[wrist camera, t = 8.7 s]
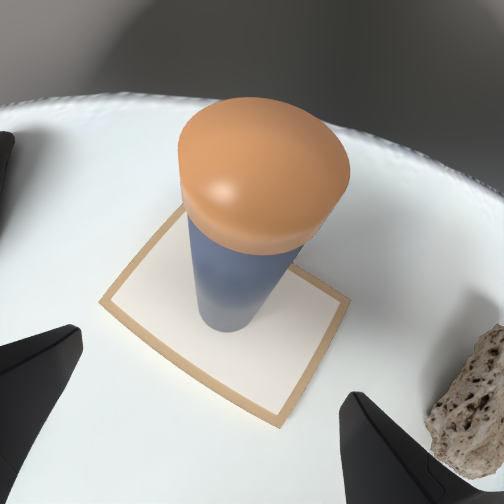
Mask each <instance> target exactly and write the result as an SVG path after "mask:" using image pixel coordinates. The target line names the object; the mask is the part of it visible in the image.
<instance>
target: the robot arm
mask: <svg viewBox="0 0 504 504" xmlns="http://www.w3.org/2000/svg"><path fill="white" fill-rule="evenodd" d="M82 352H83V342H82V333H81V329H80V328H79V327H76V326H74V325H72V324H68V325H65V326H62V327H59V328H56V329H53V330H50V331H47V332H43V333H40V334H37V335H34V336H31V337H28V338H25V339H22V340H18V341H15V342H12V343H9V344H6V345H3V346H0V504H5V503H6V500H7V498H8V496H9V493H10V491H11V489H12V487H13V484H14V482H15V480H16V478H17V476H18V473H19V471H20V469H21V467H22V465H23V463H24V461H25V459H26V457H27V455H28V453H29V451H30V449H31V447H32V445H33V443H34V441H35V439H36V438H37V436H38V434H39V432H40V430H41V428H42V427H43V425H44V423H45V421H46V420H47V418H48V416H49V414H50V413H51V411H52V409H53V407H54V406H55V404H56V402H57V401H58V399H59V397H60V396H61V394H62V392H63V391H64V389H65V387H66V385H67V383H68V381H69V379H70V377H71V375H72V373H73V371H74V369H75V367H76V365H77V363H78V361H79V359H80V357H81V355H82ZM339 426H340V453H341V461H342V469H343V477H344V486H345V495H346V504H504V491H500V492H486V491H481V490H479V489H476V488H475V487H473V486H472V485H470V484H469V483H467V482H466V481H464V480H463V479H461V478H460V477H459V476H457V475H456V474H454V473H453V472H452V471H450V470H449V469H448V468H446V467H445V466H444V465H442V464H441V463H440V462H439V461H438V460H436V459H435V458H434V457H433V456H432V455H431V454H430V453H427V451H426V450H425V449H424V448H423V447H422V446H421V445H419V444H418V443H417V442H416V441H415V440H414V439H413V438H412V437H411V436H410V435H408V434H407V433H406V432H405V431H404V430H403V429H402V428H401V427H400V426H399V425H397V424H396V423H395V422H394V421H393V420H392V419H391V418H390V417H389V416H388V415H387V414H385V413H384V412H383V411H382V410H381V409H380V408H379V407H378V406H377V405H376V404H375V403H374V402H373V401H372V400H370V399H369V398H368V397H367V396H366V395H365V394H364V393H363V392H355V391H353V392H350V393H349V395H348V396H347V398H346V399H345V401H344V403H343V404H342V406H341V407H340V410H339Z"/></svg>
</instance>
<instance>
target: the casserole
mask: <svg viewBox="0 0 504 504" xmlns="http://www.w3.org/2000/svg"><path fill="white" fill-rule="evenodd" d="M14 143H15V138H14V135H13V134H12V133H10V132H6V131H0V194H1V191H2V185H3V179H4V173H5V168H6V164H7V161H8V158H9V155H10V153H11V150H12V148H13V145H14Z"/></svg>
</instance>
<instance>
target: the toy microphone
mask: <svg viewBox="0 0 504 504" xmlns="http://www.w3.org/2000/svg"><path fill="white" fill-rule="evenodd" d="M178 160H179V172H180V184H181V194H182V200H183V204H184V207H185V210H186V212H187V217H188V227H189V237H190V246H191V255H192V264H193V272H194V280H195V288H196V295H197V303H198V309H199V313H200V316H201V317H202V319H203V321H204V322H205V323H206V324H207V325H208V326H209V327H211V328H212V329H214V330H217V331H220V332H225V333H230V332H235V331H238V330H241V329H242V328H244V327H245V326H247V325H248V324H249V322H250V321H251V320H252V318H253V317H254V316H255V314H256V313H257V312H258V310H259V309H260V307H261V306H262V305H263V303H264V302H265V300H266V299H267V298H268V296H269V295H270V293H271V292H272V290H273V289H274V288H275V286H276V285H277V283H278V282H279V281H280V279H281V278H282V276H283V275H284V273H285V272H286V270H287V269H288V268H289V266H290V265H291V263H292V262H293V260H294V259H295V257H296V256H297V254H298V253H299V252H300V250H301V249H302V247H303V246H304V244H305V243H306V242H308V241H309V240H310V239H311V238H312V237H313V236H314V235H315V234H316V233H317V232H318V230H319V229H320V227H321V226H322V225H323V223H324V222H325V220H326V219H327V217H328V216H329V214H330V213H331V211H332V210H333V208H334V207H335V206H336V204H337V203H338V201H339V200H340V198H341V197H342V195H343V194H344V192H345V190H346V188H347V186H348V183H349V178H350V165H349V160H348V157H347V153H346V151H345V149H344V147H343V145H342V144H341V142H340V141H339V139H338V138H337V137H336V135H335V134H334V133H333V132H332V131H331V130H330V129H329V128H328V127H327V126H326V125H325V124H324V123H322V122H321V121H320V120H319V119H317V118H316V117H314V116H313V115H311V114H309V113H307V112H306V111H304V110H302V109H299V108H297V107H295V106H292V105H289V104H287V103H284V102H280V101H276V100H271V99H265V98H252V97H248V98H247V97H246V98H235V99H229V100H224V101H221V102H218V103H215V104H212V105H210V106H208V107H206V108H204V109H202V110H201V111H199V112H198V113H197V114H195V115H194V116H193V117H192V118H191V119H190V120H189V121H188V122H187V124H186V125H185V127H184V128H183V130H182V132H181V134H180V137H179V142H178Z"/></svg>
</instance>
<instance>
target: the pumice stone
mask: <svg viewBox="0 0 504 504" xmlns="http://www.w3.org/2000/svg"><path fill="white" fill-rule="evenodd" d="M425 424H426V427H427V429H428V430H429V432H430V434H431V436H432V439H433V441H432V444H431V449H430V450H431V451H433V452H434V457H435V459H436V460H438V461H442V462H444V463H446V464H448V465H449V467H452V468H453V469H454V470H455V471H456V472H457V473H458V474H459V475H461V476H463V477H465V478H467V477H468V479H472V480H473V479H475V478H482V477H485V476H488V475H491V474H494V473H496V470H497V469H498V468H499V467H501V465H502V463H503V461H504V326H500V325H499V324H497V325H495V327H494V328H493V329H492V330H491V331H489V332H487V333H485V334H483V335H482V336H480V337H479V339H478V341H477V343H476V345H475V349H474V353H473V354H472V355H471V356H470V357H468V359H467V362H466V365H465V366H464V367H463V369H462V372H460V374H459V376H458V378H457V379H455V380H453V382H452V384H451V386H450V388H449V390H448V392H447V393H446V394H445V395H444V396H443V397H442V398H441V399H439V400H438V401H437V402H436V403H435V404H434V406H433V409H432V411H431V415H430V416H429V417H427V419H425Z"/></svg>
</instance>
